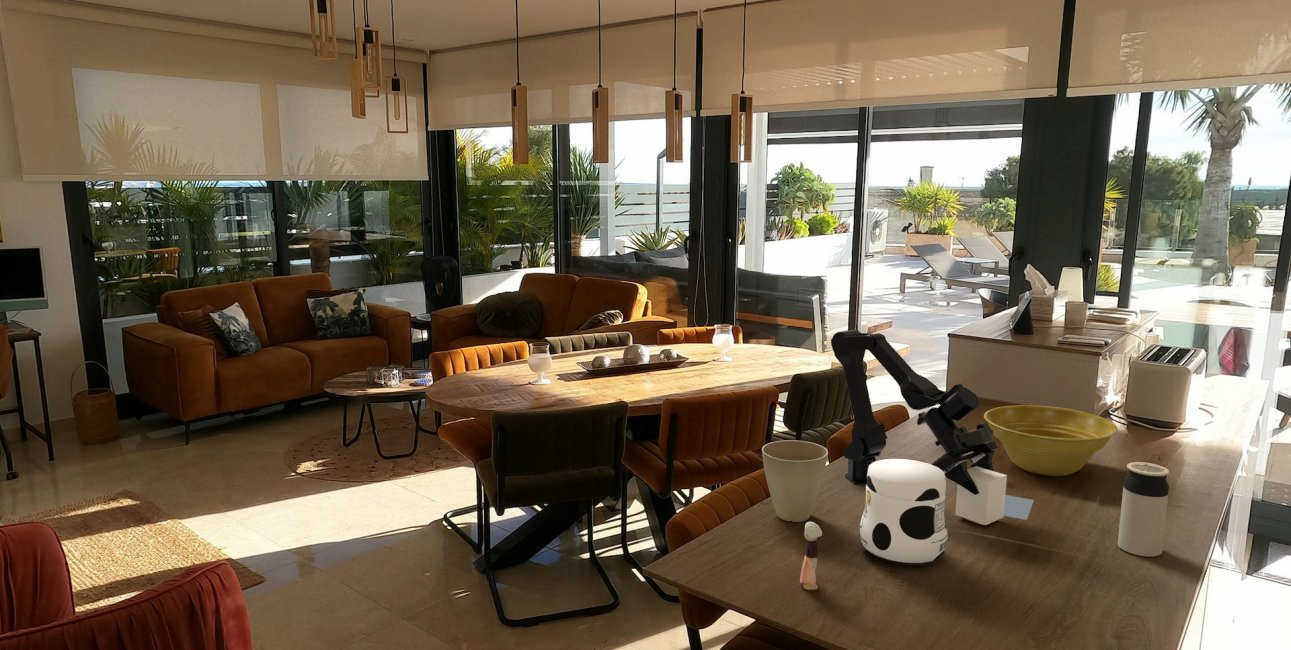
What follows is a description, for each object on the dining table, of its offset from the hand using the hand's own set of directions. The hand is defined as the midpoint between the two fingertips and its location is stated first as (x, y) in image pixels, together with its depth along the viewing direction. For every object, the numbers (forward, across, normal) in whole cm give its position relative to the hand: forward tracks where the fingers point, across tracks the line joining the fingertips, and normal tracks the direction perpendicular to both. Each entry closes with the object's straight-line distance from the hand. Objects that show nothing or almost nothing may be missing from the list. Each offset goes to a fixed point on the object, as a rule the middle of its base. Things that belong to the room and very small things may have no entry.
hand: (986, 490), depth 184 cm
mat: (+3, +12, +8) cm, 15 cm away
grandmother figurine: (+3, -54, +9) cm, 54 cm away
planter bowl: (-2, +48, +14) cm, 49 cm away
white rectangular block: (+4, 0, +6) cm, 7 cm away
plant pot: (-15, -32, +26) cm, 44 cm away
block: (+5, 0, +7) cm, 8 cm away
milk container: (+4, -28, +7) cm, 29 cm away
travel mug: (+25, +14, -13) cm, 31 cm away
